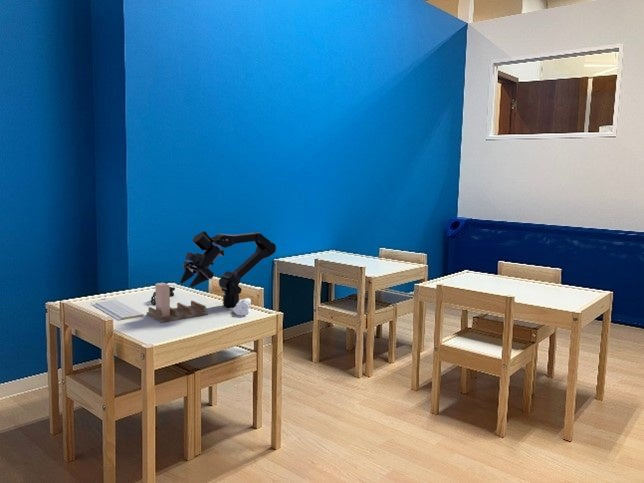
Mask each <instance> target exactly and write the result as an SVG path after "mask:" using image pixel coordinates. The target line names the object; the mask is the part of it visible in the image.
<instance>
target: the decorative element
mask: <svg viewBox="0 0 644 483" xmlns="http://www.w3.org/2000/svg"><path fill="white" fill-rule="evenodd" d="M169 288H170V297H175V293H174V291H175V290H176V287H174V286H169ZM152 293H153V294H152V296H151V299H150V305H152V306H156V290H155V291H154V292H152Z"/></svg>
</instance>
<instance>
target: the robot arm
mask: <svg viewBox="0 0 644 483" xmlns="http://www.w3.org/2000/svg"><path fill="white" fill-rule="evenodd" d="M192 242H193V244H194V245H196V246H197V247H198V248H199V249H200V251H203V253H202V254H201V253H199V252H195V253H192V252H189V251H187V252H186V254H185V257H184V259H185V261H184V262H183V263H182V268H183V270H184V271H183V274H182V276H181V278H180V281H179V283H180V284H181V285H182V284H184V283H185V282H188V280H190V279H192V277H194V276H195V277H194V278H193V279H192V281H191V283H190V285H189V287H190V288H194V287H196V286H198V285H200V284H202V283H204V282H206V281H209V280H212V279H213V278H214V274H215V273H214V272H213V271H212V270H211V269H210V268H209V267H210V266H214V264H215V263H214V262H215V260H216V259H217V258H218V257H219V256H221V257H225V252H224V251H225V249H226V248H229V247H233V246H234V245H237V244H243V243H252V242H253V243H254V244H255V245H256V249H255V251H254V253H252V254H251V255H250V256H249V257H248V258H246V260H245V261H244V262H243V263H241V264H240V265H239V266H238V267H237V268H236V269H235V270H233V271H229V270H227V271H225V272H224V273H223V274H222V275H221V276H220V278H219V280H218V286H219V287H220V289H221V291H222V292H223V295H222V305H223V306H224V307H225V308H235V306H236V304H237V303H238V301H239V300H240V294H241V293H242V290H243V289H242V287H240V282H241V280H242V279H243V277H245V275H247V274H248V273H249V272H251V270H252V269H253V268H255V267H256V266H257V265H258V264H259V263H261V261H263V260H264V259H266V258H269V257H271V256H273V255H274V254H275V253H276V252H277V250H276V249H277V247H276V246H277V245H276V244H275V243H274V242H272V241H271V240H269V239H268V238H267V237H266V236H264V235H263V234H262V233H261V232H259V231H258V232H257V231H253V232H248V233H239V234H228V233H227V234H226V233H217V234H215V235H214V236H212V237H211V236H210V235H209V234H208V233H207V232H206V231H205V230H202V231H201V232H199V233H197V234H196V235H194V236H193V238H192ZM221 248H223V249H221Z"/></svg>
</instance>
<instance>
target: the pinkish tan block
mask: <svg viewBox="0 0 644 483" xmlns="http://www.w3.org/2000/svg"><path fill="white" fill-rule="evenodd" d="M169 287H170V285H169V284H167V283H165V282H160V283H159V282H157V283H155V287H154V288H155V291H156V296H155V298H156V300H155V301H156V305H155V309H156V310H157V311H159V312H161V313H163V317H166V316H170V307H171V300H170V299H171V298H170V297H171V296H170V288H169Z"/></svg>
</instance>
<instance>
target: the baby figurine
mask: <svg viewBox="0 0 644 483" xmlns="http://www.w3.org/2000/svg"><path fill="white" fill-rule="evenodd" d="M251 303H252V301H251V298H249V297H247V298H240V299H239V301H238V303H237V304H236V306H235V307H233V309H232V311H233V312H234V314H236V316H241V317H242V316H247V315H248V314H250V311H251V310H250V308H251Z"/></svg>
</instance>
